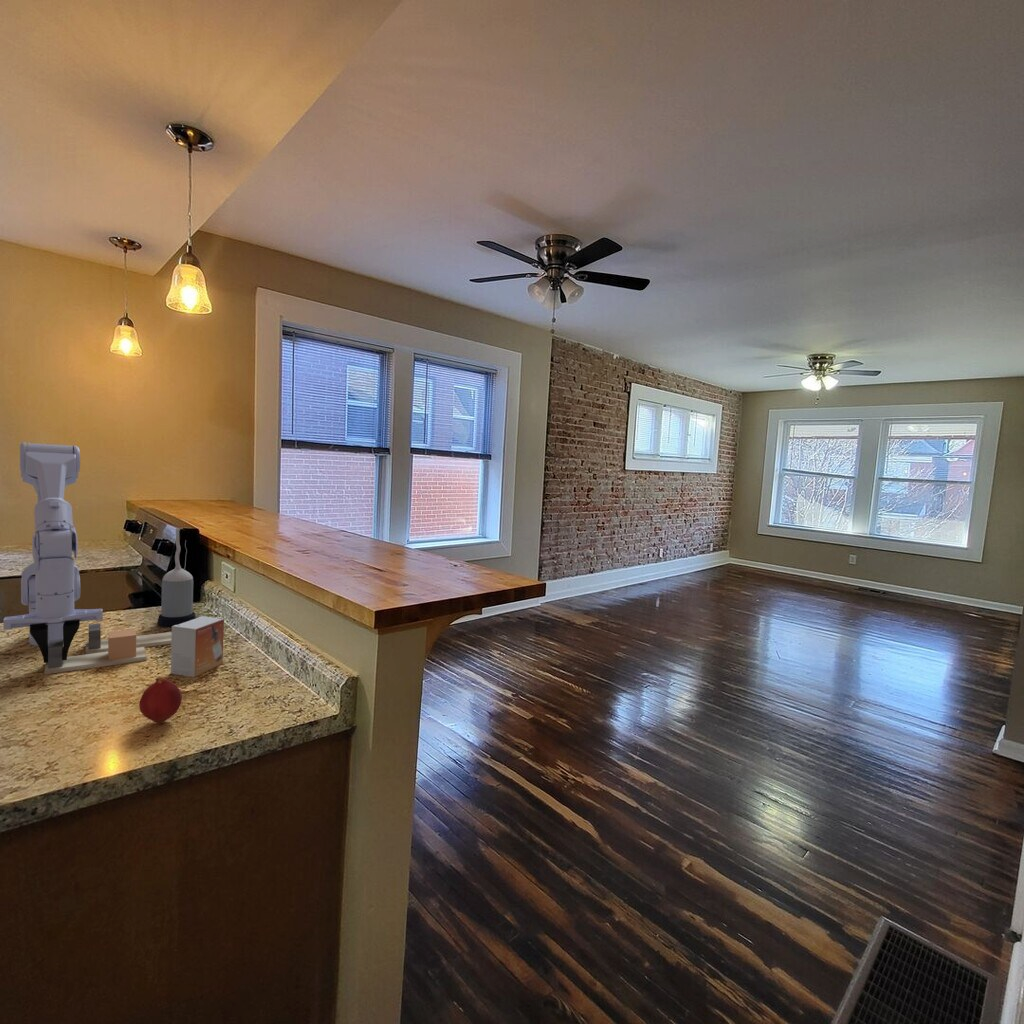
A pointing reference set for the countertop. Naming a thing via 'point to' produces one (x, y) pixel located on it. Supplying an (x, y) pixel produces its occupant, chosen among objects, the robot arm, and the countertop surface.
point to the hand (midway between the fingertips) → (55, 659)
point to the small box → (197, 646)
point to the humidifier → (176, 594)
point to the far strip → (142, 641)
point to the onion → (160, 700)
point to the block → (121, 644)
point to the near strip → (83, 659)
